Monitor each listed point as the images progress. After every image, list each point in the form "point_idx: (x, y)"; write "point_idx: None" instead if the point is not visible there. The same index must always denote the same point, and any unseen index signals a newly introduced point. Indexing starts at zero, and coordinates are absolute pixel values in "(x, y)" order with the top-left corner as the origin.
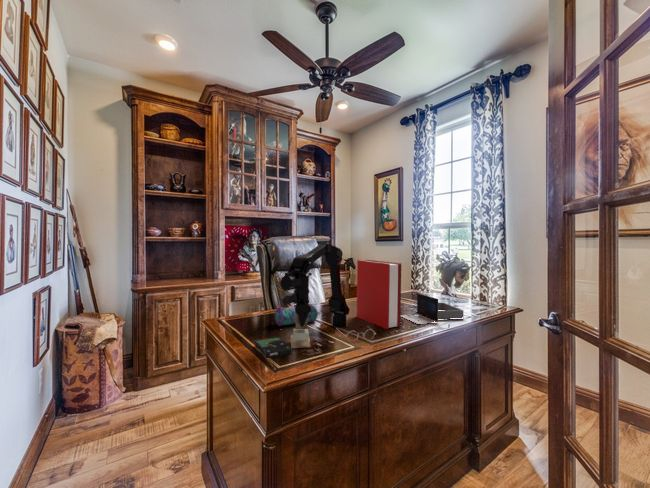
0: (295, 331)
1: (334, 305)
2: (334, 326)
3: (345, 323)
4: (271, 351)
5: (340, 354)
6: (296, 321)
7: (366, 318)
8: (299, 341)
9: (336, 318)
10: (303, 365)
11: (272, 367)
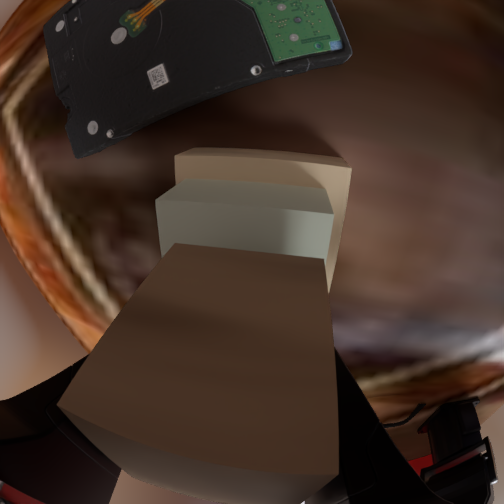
0: (226, 224)
1: (453, 491)
2: (396, 424)
3: (429, 435)
4: (52, 43)
5: None
6: (122, 311)
7: (428, 461)
8: None
9: (451, 437)
10: (18, 204)
11: (6, 87)
